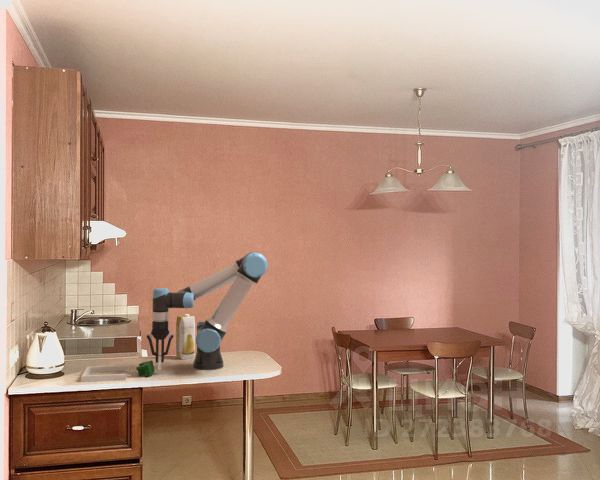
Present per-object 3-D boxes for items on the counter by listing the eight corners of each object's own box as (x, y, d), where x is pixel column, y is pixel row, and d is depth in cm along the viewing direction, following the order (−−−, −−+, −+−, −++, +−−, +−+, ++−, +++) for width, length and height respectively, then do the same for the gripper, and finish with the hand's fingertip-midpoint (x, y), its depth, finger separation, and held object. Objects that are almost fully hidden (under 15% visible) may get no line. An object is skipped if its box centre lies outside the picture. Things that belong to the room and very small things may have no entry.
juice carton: (181, 360, 330) (181, 315, 329) (174, 358, 336) (174, 313, 336) (196, 358, 336) (196, 313, 335) (189, 355, 342) (189, 312, 342)
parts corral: (128, 370, 306) (128, 365, 306) (125, 379, 286) (125, 374, 286) (87, 371, 302) (87, 366, 302) (81, 381, 282) (81, 376, 282)
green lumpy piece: (144, 382, 300) (141, 363, 303) (156, 378, 300) (153, 360, 304) (136, 378, 289) (133, 359, 292) (149, 374, 289) (146, 356, 293)
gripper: (174, 319, 303) (173, 367, 303) (146, 319, 300) (146, 368, 300) (174, 321, 295) (173, 370, 296) (146, 321, 293) (145, 371, 293)
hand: (159, 369), depth 298 cm, fingers closed
